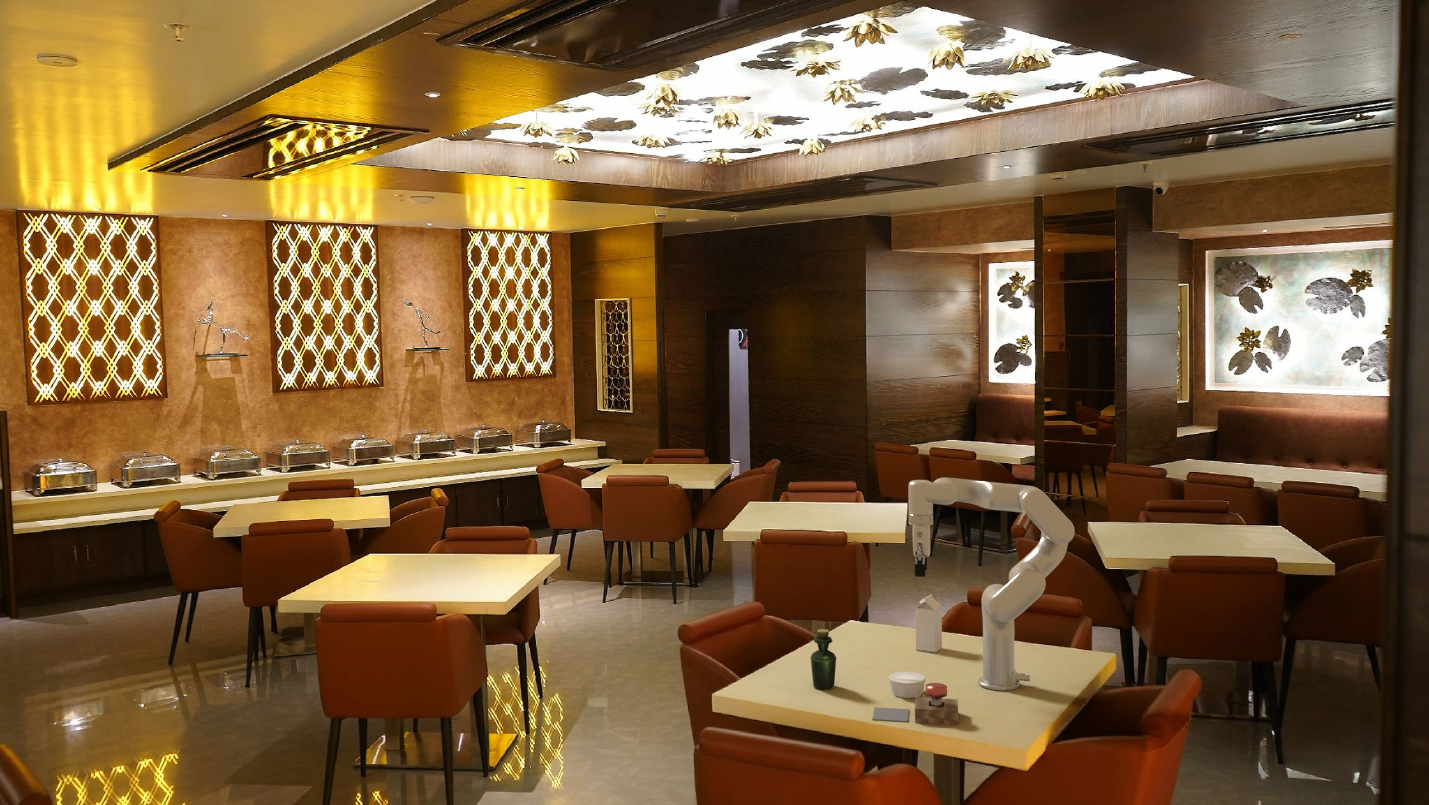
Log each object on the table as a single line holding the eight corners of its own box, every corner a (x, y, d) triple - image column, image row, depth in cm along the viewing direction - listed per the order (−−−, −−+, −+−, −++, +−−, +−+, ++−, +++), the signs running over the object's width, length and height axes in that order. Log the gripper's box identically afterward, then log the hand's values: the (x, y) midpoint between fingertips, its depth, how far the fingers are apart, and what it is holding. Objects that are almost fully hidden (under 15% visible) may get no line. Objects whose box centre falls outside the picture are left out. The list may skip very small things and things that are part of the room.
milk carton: (942, 648, 364) (941, 595, 363) (935, 653, 358) (934, 599, 357) (922, 645, 368) (922, 593, 367) (915, 650, 362) (915, 597, 361)
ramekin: (898, 701, 309) (898, 684, 309) (882, 690, 320) (882, 673, 320) (932, 697, 313) (932, 680, 312) (915, 686, 323) (914, 669, 323)
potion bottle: (816, 681, 329) (816, 626, 329) (840, 685, 326) (839, 629, 325) (806, 689, 322) (806, 632, 321) (830, 692, 318) (830, 635, 318)
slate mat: (908, 710, 302) (908, 709, 301) (907, 722, 292) (907, 721, 292) (874, 708, 304) (874, 707, 304) (872, 720, 294) (872, 719, 294)
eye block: (957, 712, 298) (957, 699, 298) (958, 725, 289) (958, 711, 289) (915, 710, 301) (915, 697, 301) (914, 722, 291) (914, 708, 291)
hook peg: (947, 714, 297) (946, 683, 297) (947, 722, 291) (947, 690, 291) (926, 713, 298) (925, 682, 298) (925, 720, 293) (925, 689, 292)
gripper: (931, 524, 314) (931, 579, 315) (934, 515, 330) (934, 568, 331) (906, 523, 316) (907, 578, 316) (910, 514, 332) (910, 567, 333)
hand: (920, 573), depth 324 cm, fingers open, 9 cm apart
